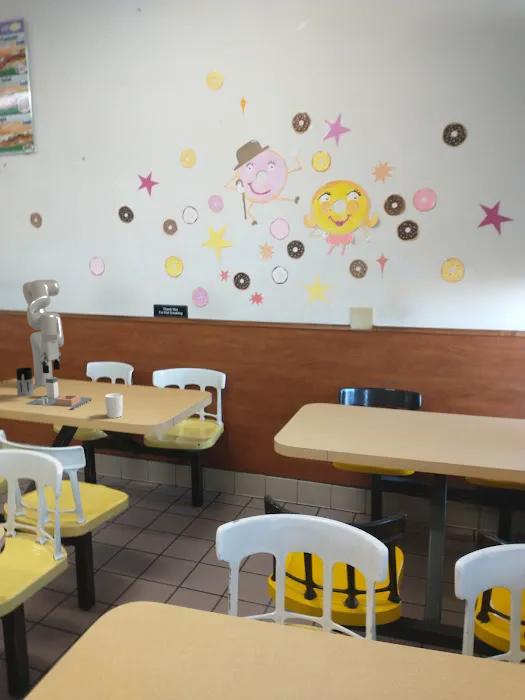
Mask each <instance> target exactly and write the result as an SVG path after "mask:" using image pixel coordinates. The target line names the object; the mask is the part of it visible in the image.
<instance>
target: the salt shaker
mask: <svg viewBox="0 0 525 700" xmlns="http://www.w3.org/2000/svg"><path fill="white" fill-rule="evenodd" d="M55 377H56V376H53V377H50V378H47V379H46V386H47V387H46V395H47V398H56V397H58V396H60V394H59V378H58V377H56V378H55Z"/></svg>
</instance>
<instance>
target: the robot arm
mask: <svg viewBox="0 0 525 700" xmlns="http://www.w3.org/2000/svg"><path fill="white" fill-rule="evenodd" d="M59 293H60V285H59V283H58V281H57V280H56V279H36V280H33V281H27V282H24V284H22V294H23V296H24V297H23V298H24V299H25V302H26V303H27V305H28V306H27V308H26V316H27V323H28V325H29V327H31V328H32V329H33V330H35V332H33V333H31V334H30V337H29V339H30V340H29V341H30V344H31V351H32V360H33V370H34V371H33V372H34V373H33V374H34V375H33V376H34V383H33V389H34V390H35V389H37V388H40V387H42V388H43V387H46V388H47V386H46V379H47V378H50V377H55V378H57V377H56V376H53V370H58V371H59V370H61V365H60V362H61V356H62V355H61V354H62V352H61V351H60V348H61V347H63V345H64V343H65V339H64V338H65V337H64V331H63V323H62V319H61V315H60V314H59V313H57V312H52V311H51V312H49V311H48V312H47V310H46V308H47V307H48V306H49V305H50V304H51V297H55V296H58V294H59ZM52 361H53V364H52Z"/></svg>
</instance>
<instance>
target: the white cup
mask: <svg viewBox="0 0 525 700" xmlns="http://www.w3.org/2000/svg"><path fill="white" fill-rule="evenodd" d="M104 397H105V408H106V416H107V418H110V419H118V418H121V417H123V409H124V408H123V405H124V395H123V394H122V393H119V392H118V393H117V392H115V393H107V394H105V395H104ZM120 416H121V417H120ZM117 417H118V418H117Z"/></svg>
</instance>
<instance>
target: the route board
mask: <svg viewBox="0 0 525 700" xmlns="http://www.w3.org/2000/svg"><path fill="white" fill-rule="evenodd" d="M90 400H92V397H83V396H81V395H75V394H73V395H72V394H64V395H59V396H58V397H56V398H47V394H45V395H43V396H40V397H38V398H36V399H33V400H31V401H29V402H26V403H25V405H30V406H31V405H32V406H46V407H47V406H49V407H67V408H69V409H68V411H74V409H75V408H77V407H78V408H80V407H82V406H84V405H86V404H87V403H86V402H88V401H90ZM90 402H91V401H90ZM85 403H86V404H85ZM88 403H89V402H88ZM83 404H84V405H83ZM81 405H82V406H81ZM79 406H80V407H79ZM78 408H77V409H78ZM75 410H76V409H75Z"/></svg>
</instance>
